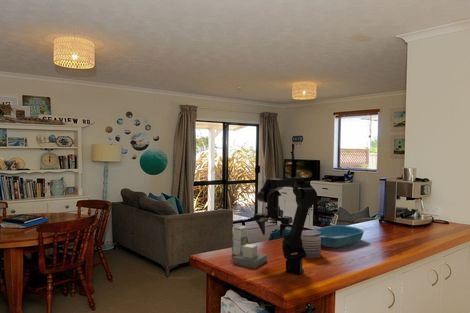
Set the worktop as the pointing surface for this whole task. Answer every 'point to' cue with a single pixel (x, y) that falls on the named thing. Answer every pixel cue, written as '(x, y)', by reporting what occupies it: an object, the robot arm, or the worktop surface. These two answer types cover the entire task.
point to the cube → (250, 251)
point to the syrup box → (239, 239)
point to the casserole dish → (339, 235)
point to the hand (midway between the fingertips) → (272, 236)
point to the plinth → (250, 260)
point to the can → (311, 243)
